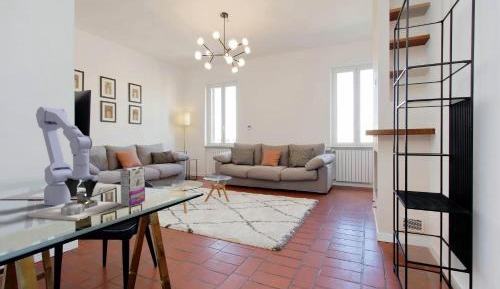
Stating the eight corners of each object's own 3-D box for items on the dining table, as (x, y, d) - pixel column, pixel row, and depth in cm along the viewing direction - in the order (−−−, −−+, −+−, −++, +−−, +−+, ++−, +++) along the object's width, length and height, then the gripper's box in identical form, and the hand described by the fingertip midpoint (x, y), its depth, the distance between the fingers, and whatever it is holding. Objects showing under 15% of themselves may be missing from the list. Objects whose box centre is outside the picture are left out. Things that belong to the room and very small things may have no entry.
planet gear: (67, 207, 105) (67, 195, 105) (81, 203, 112) (81, 191, 112) (82, 208, 104) (82, 196, 104) (95, 203, 111) (95, 192, 111)
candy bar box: (136, 200, 123) (136, 166, 122) (145, 200, 122) (145, 166, 121) (119, 206, 112) (119, 169, 111) (129, 206, 111) (129, 169, 110)
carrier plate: (27, 216, 96) (27, 207, 96) (77, 202, 118) (77, 194, 117) (77, 220, 92) (77, 211, 92) (119, 205, 113) (119, 197, 113)
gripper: (103, 164, 110) (103, 195, 110) (74, 163, 113) (75, 193, 113) (90, 166, 103) (90, 199, 103) (60, 165, 106) (60, 197, 106)
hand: (81, 196), depth 108 cm, fingers open, 7 cm apart
